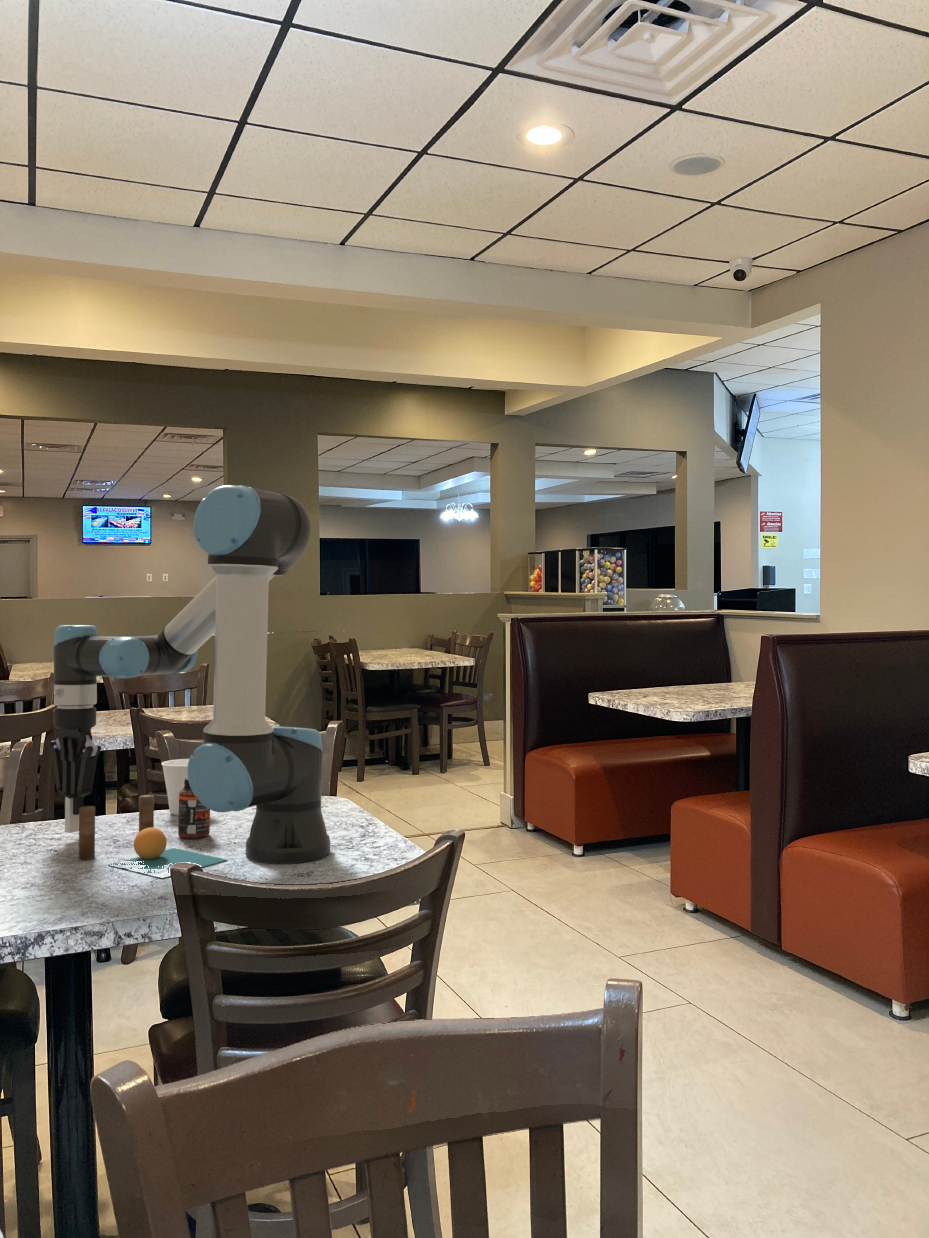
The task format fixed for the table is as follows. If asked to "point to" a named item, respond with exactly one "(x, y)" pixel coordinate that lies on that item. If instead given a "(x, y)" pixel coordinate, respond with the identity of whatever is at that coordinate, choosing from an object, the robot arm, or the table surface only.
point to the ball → (150, 843)
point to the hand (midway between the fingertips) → (73, 830)
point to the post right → (146, 812)
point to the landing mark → (175, 859)
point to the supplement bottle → (192, 815)
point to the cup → (175, 781)
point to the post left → (86, 832)
